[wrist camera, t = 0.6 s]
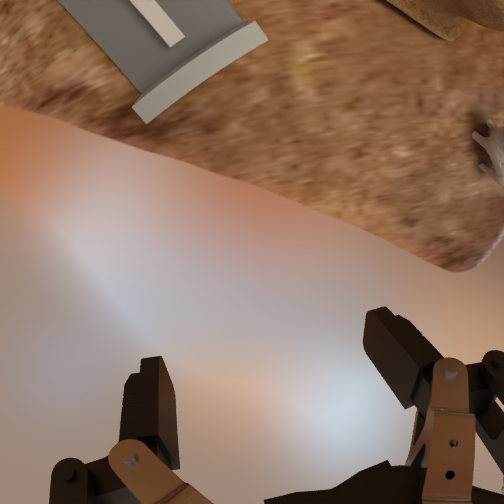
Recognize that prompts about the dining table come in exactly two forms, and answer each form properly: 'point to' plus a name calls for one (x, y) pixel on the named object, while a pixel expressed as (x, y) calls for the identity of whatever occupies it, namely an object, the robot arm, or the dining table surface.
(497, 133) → the dog figurine
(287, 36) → the dining table surface
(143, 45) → the rail plate
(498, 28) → the brown boot
